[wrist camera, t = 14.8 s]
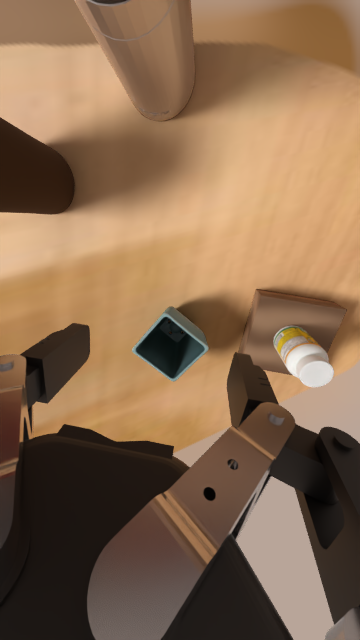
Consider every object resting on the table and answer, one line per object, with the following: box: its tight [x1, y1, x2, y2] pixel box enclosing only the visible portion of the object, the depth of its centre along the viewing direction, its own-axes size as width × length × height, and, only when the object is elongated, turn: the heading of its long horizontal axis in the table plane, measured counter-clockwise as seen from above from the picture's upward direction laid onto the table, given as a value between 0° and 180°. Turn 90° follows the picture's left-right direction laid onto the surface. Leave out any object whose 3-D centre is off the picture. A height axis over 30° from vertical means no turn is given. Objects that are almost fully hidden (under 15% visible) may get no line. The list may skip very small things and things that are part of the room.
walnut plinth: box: [238, 289, 347, 375], centre depth 38 cm, size 13×13×4 cm
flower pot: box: [132, 307, 209, 381], centre depth 38 cm, size 9×9×9 cm
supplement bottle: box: [273, 325, 334, 387], centre depth 32 cm, size 5×5×10 cm
